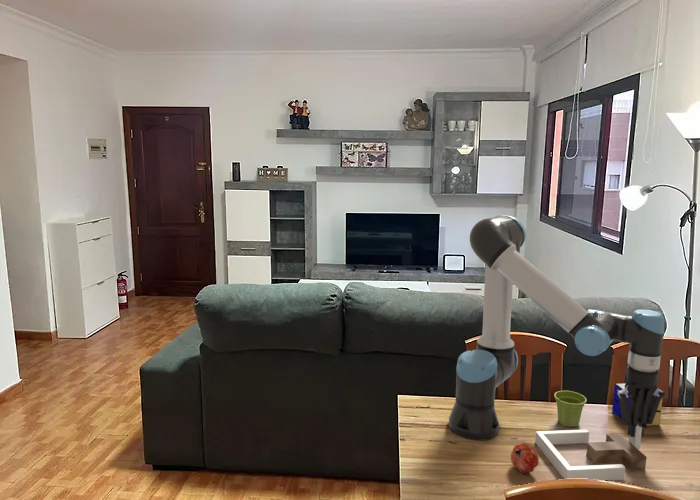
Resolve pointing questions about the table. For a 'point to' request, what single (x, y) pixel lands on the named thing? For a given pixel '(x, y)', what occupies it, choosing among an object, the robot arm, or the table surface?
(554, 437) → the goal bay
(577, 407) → the plant pot
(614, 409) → the puzzle cube
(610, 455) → the T block
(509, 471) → the table surface
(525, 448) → the pomegranate
